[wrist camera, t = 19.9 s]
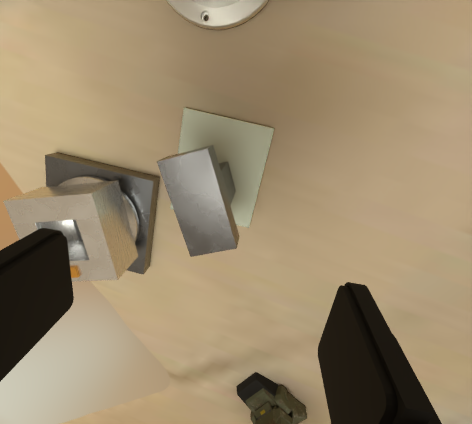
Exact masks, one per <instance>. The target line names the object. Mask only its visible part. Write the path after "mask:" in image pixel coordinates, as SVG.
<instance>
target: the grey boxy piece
mask: <svg viewBox="0 0 472 424" xmlns="http://www.w3.org/2000/svg"><path fill="white" fill-rule="evenodd" d="M3 202H4V204H5V206H6V209H7V211H8V214H9V216H10V218H11V221H12V223H13V225H14V228H15V230H16V232H17V235H18V237H19V239H22V238H24V237H25V236H27V235H29V234H31V233H33V232H34V231H36V230H38V229H40V228H48V229H54V230H60V231H61V232H62V233H63V235H64V236H66V238H67V242H68V251H69V260H70V269H71V279H72V281H97V280H118V279H119V278H120V277H121V276H122V274H123V273H124V272H125V271H126V270H127V269H128V267H129V266H130V265H131V264H132V263H133V262H134V261H135V259H136V258H137V257H138V253H137V249H136V245H135V243H136V240H137V238H138V234H139V219H138V215H137V212H136V209H135V207H134V205H133V204H132V202H131V200H130V199H129V198H128V196H127V195H126V194H125V193H124V192H123V191H122V190H121V189H120V186H119V182H118V180H116V181H107V180H105V179H102V178H99V177H95V176H79V177H75V178H72V179H69V180H67V181H65V182H63V183H61V184H60V185H58V186H51V187H41V188H38V189H36V190H33V191H30V192H27V193H24V194H22V195H19V196H16V197H13V198H10V199H8V200H5V201H3Z"/></svg>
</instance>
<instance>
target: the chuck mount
mask: <svg viewBox="0 0 472 424" xmlns="http://www.w3.org/2000/svg"><path fill="white" fill-rule="evenodd" d="M45 164H46V186H47V187H51V186H58V185H60V184H61V183H63V182H65V181H67V180H69V179H72V178H75V177H79V176H95V177H99V178H102V179H105V180H107V181H116V180H118V182H119V186H120V189H121V190H122V191H123V192H124V193H125V194H126V195H127V196H128V198H129V199H130V200H131V202H132V204H133V205H134V207H135V209H136V212H137V215H138V219H139V234H138V238H137V240H136V243H135V245H136V249H137V253H138V257H137V258H136V259H135V261H134V262H133V263H132V264H131V265H130V266H129V267H128V269H127V270H128V271H132V272H136V273H140V274H144V273H145V272H146V270H147V269H148V268H149V266H150V258H151V249H152V240H153V231H154V223H155V214H156V205H157V196H158V187H159V178H160V177H157V176H153V175H149V174H145V173H141V172H136V171H132V170H128V169H124V168H120V167H116V166H111V165H107V164H103V163H99V162H95V161H91V160H86V159H82V158H78V157H74V156H70V155H65V154H61V153H53V154H48V155H45Z"/></svg>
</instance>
